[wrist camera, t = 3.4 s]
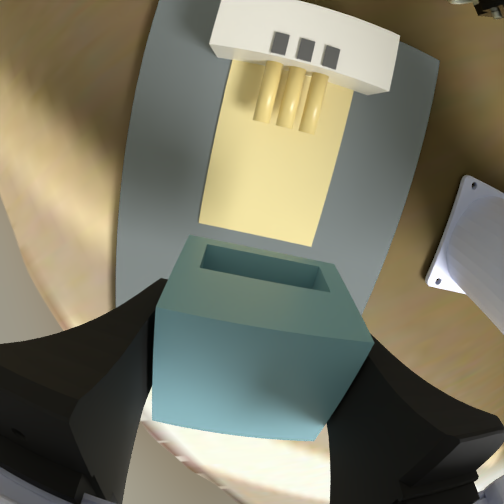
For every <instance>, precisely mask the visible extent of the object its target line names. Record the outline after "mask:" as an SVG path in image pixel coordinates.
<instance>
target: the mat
mask: <svg viewBox="0 0 504 504" xmlns="http://www.w3.org/2000/svg"><path fill="white" fill-rule="evenodd" d="M220 3H221V0H159V3H158V6H157V9H156V12H155V16H154V19H153V22H152V26H151V29H150V33H149V37H148V40H147V44H146V48H145V52H144V56H143V60H142V64H141V68H140V73H139V77H138V82H137V87H136V91H135V96H134V101H133V107H132V112H131V118H130V124H129V130H128V136H127V143H126V150H125V157H124V165H123V173H122V182H121V192H120V203H119V215H118V230H117V251H116V308H117V307H118V306H120V305H122V304H123V303H125V302H126V301H128V300H129V299H131V298H132V297H134V296H135V295H137V294H138V293H140V292H141V291H143V290H144V289H146V288H147V287H148V286H150V285H151V284H153V283H154V282H155V281H157V280H159V279H160V278H164V279H169V277H170V275H171V272H172V270H173V268H174V266H175V264H176V262H177V260H178V257H179V255H180V253H181V251H182V249H183V247H184V245H185V243H186V241H187V239H188V237H189V235H194V236H199V237H204V238H209V239H214V240H218V241H223V242H228V243H233V244H238V245H243V246H248V247H253V248H258V249H263V250H268V251H273V252H278V253H283V254H287V255H292V256H297V257H302V258H307V259H312V260H317V261H322V262H326V263H331V264H334V265H335V267H336V268H337V270H338V272H339V274H340V276H341V278H342V280H343V282H344V283H345V285H346V287H347V289H348V291H349V293H350V295H351V297H352V299H353V301H354V303H355V305H356V307H357V309H358V311H359V312H360V314H361V315H362V313H363V311H364V308H365V306H366V304H367V302H368V299H369V297H370V295H371V292H372V290H373V288H374V285H375V283H376V280H377V278H378V276H379V273H380V271H381V268H382V266H383V263H384V261H385V258H386V255H387V253H388V250H389V248H390V245H391V242H392V239H393V237H394V234H395V231H396V228H397V226H398V223H399V220H400V217H401V214H402V211H403V208H404V205H405V202H406V199H407V196H408V193H409V189H410V186H411V183H412V180H413V176H414V173H415V169H416V166H417V162H418V159H419V155H420V151H421V148H422V144H423V140H424V136H425V132H426V128H427V124H428V119H429V115H430V110H431V106H432V101H433V96H434V91H435V86H436V81H437V75H438V69H439V63H440V61H439V60H437V59H435V58H433V57H432V56H430V55H428V54H426V53H424V52H422V51H420V50H418V49H416V48H414V47H412V46H409V45H407V44H405V43H403V42H401V41H399V45H398V51H397V56H396V61H395V66H394V71H393V76H392V81H391V86H390V90H389V91H388V92H383V93H377V94H372V95H365V94H362V93H359V92H356V91H354V90H351V89H348V88H345V87H342V86H339V85H336V84H333V83H329V82H328V83H327V87H326V92H325V96H324V100H323V104H322V108H321V112H320V116H319V120H318V124H317V128H316V132H315V135H312V134H308V133H304V132H301V131H298V130H299V126H300V122H301V118H302V114H303V110H304V106H305V101H306V97H307V93H308V89H309V85H310V81H311V77H309V76H305V79H304V83H303V87H302V91H301V95H300V100H299V104H298V108H297V112H296V116H295V120H294V124H293V128H292V129H289V128H285V127H281V126H277V125H276V121H277V117H278V113H279V109H280V105H281V101H282V96H283V92H284V88H285V84H286V80H287V76H288V71H286V70H282V73H281V77H280V81H279V85H278V89H277V94H276V98H275V102H274V106H273V110H272V114H271V119H270V123H269V124H268V123H263V122H259V121H254V120H253V115H254V111H255V107H256V103H257V98H258V94H259V90H260V86H261V82H262V78H263V73H264V69H265V66H264V65H259V64H254V63H249V62H244V61H238V60H230V59H224V58H217V56H216V54H215V53H214V51H213V50H212V48H211V46H210V45H209V42H210V39H211V35H212V31H213V28H214V24H215V20H216V17H217V13H218V10H219V7H220Z"/></svg>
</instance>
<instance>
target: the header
mask: <svg viewBox="0 0 504 504" xmlns="http://www.w3.org/2000/svg"><path fill="white" fill-rule="evenodd" d="M399 40H400V35H398V34H396V33H393V32H391V31H389V30H386V29H384V28H381V27H379V26H376V25H374V24H371V23H369V22H366V21H364V20H361V19H358V18H355V17H352V16H350V15H347V14H344V13H341V12H338V11H334V10H331V9H328V8H325V7H321V6H318V5H314V4H310V3H307V2H303V1H299V0H221V3H220V7H219V10H218V13H217V17H216V20H215V24H214V28H213V31H212V35H211V39H210V42H209V45H210V46H211V48H212V50H213V51H214V53H215V54H216V56H217V58H224V59H230V60H238V61H244V62H249V63H254V64H259V65H264V66H265V69H264V73H263V78H262V82H261V86H260V90H259V94H258V98H257V103H256V107H255V111H254V115H253V120H254V121H259V122H263V123H268V124H269V123H270V119H271V114H272V110H273V106H274V102H275V98H276V94H277V89H278V85H279V81H280V77H281V73H282V70H286V71H288V76H287V80H286V84H285V88H284V92H283V96H282V101H281V105H280V109H279V113H278V117H277V121H276V125H277V126H281V127H285V128H289V129H292V128H293V124H294V120H295V116H296V112H297V108H298V104H299V100H300V95H301V91H302V87H303V83H304V79H305V76H309V77H311V81H310V85H309V89H308V93H307V97H306V101H305V106H304V110H303V114H302V118H301V122H300V126H299V130H298V131H301V132H304V133H308V134H312V135H315V132H316V128H317V124H318V120H319V116H320V112H321V108H322V104H323V100H324V96H325V92H326V87H327V83H328V82H329V83H333V84H336V85H339V86H342V87H345V88H348V89H351V90H354V91H356V92H359V93H362V94H365V95H372V94H377V93H383V92H388V91H389V90H390V86H391V81H392V76H393V71H394V66H395V61H396V56H397V51H398V45H399Z"/></svg>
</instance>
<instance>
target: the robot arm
mask: <svg viewBox="0 0 504 504" xmlns="http://www.w3.org/2000/svg"><path fill="white" fill-rule="evenodd" d="M473 182H474V186H473V188H472V183H473ZM438 278H439V280H438V281H437V282H436V280H437V279H438ZM167 281H168V279H164V278H160V279H159V280H157V281H155V282H154V283H153V284H151V285H150V286H148V287H147V288H146V289H144V290H143V291H141V292H140V293H138V294H137V295H135V296H134V297H132V298H131V299H129V300H128V301H126V302H125V303H123V304H122V305H120V306H118V307H117V308H115V309H113V310H111V311H110V312H108V313H106V314H104V315H102V316H100V317H98V318H96V319H94V320H92V321H89V322H87V323H85V324H82V325H80V326H77V327H74V328H71V329H68V330H65V331H62V332H60V333H57V334H53V335H49V336H45V337H41V338H37V339H32V340H27V341H21V342H14V343H5V344H0V504H122V500H123V494H124V489H125V483H126V477H127V473H128V468H129V463H130V459H131V454H132V450H133V445H134V441H135V437H136V433H137V429H138V425H139V422H140V418H141V414H142V411H143V407H144V405H145V402H146V399H147V397H148V394H149V392H150V389H151V387H152V379H153V348H154V328H155V312H156V305H157V303H158V301H159V299H160V296H161V294H162V292H163V290H164V288H165V285H166V283H167ZM425 282H426V283H427V285H428V286H431V287H435V288H440V289H445V290H449V291H454V292H459V293H463V294H466V295H467V296H468V297H469V298H470V299H471V300H472V301H473V302H474V303H475V304H476V305H477V306H478V307H479V308H480V309H481V310H482V311H483V312H484V313H485V314H486V316H487V317H488V318H489V319H490V320H491V321H492V322H493V323H494V324H495V325H496V327H497V328H498V329H499V330H500V331H501V332H502V333H503V335H504V193H502V192H500V191H499V190H497V189H495V188H493V187H491V186H489V185H487V184H486V183H484V182H482V181H480V180H478V179H476V178H474V177H472V176H469V175H465V176H463V178H462V180H461V183H460V186H459V190H458V193H457V196H456V199H455V202H454V205H453V208H452V211H451V214H450V217H449V220H448V223H447V225H446V228H445V231H444V233H443V236H442V239H441V241H440V244H439V246H438V249H437V251H436V254H435V256H434V259H433V261H432V264H431V266H430V268H429V271H428V273H427V275H426V278H425ZM370 335H371V334H370ZM371 337H372V339H373V341H374V345H373V346H372V348H371V350H370V352H369V354H368V356H367V357H366V359H365V361H364V363H363V365H362V366H361V368H360V370H359V372H358V373H357V375H356V377H355V378H354V380H353V382H352V383H351V385H350V387H349V388H348V390H347V392H346V393H345V395H344V396H343V398H342V400H341V401H340V403H339V404H338V406H337V408H336V409H335V411H334V412H333V414H332V415H331V417H330V418H329V420H328V421H327V428H328V435H329V448H330V472H331V485H330V504H504V475H503V476H501V477H499V478H498V479H496V480H495V481H493V482H492V483H491V484H489V485H488V486H487V487H486V488H485V489H484V490H483V491H480V492H477V489H476V487H475V484H474V481H476V480H477V479H478V477H479V476H478V474H477V471H476V470H477V469H478V468H479V467H480V466H481V465H482V464H483V463H484V462H486V461H487V460H488V459H489V458H490V457H491V456H492V455H493V454H494V453H495V452H496V451H497V450H498V449H499V448H500V446H501V445H502V444H503V442H504V426H503V424H502V423H501V421H500V419H499V418H498V417H497V416H496V415H493V414H490V413H487V412H485V411H482V410H479V409H476V408H474V407H471V406H469V405H467V404H465V403H463V402H461V401H459V400H457V399H455V398H453V397H451V396H449V395H447V394H446V393H444V392H442V391H441V390H439V389H437V388H436V387H434V386H432V385H431V384H429V383H428V382H426V381H425V380H423V379H422V378H421V377H419V376H418V375H417V374H415V373H414V372H413V371H411V370H410V369H409V368H408V367H406V366H405V365H404V364H403V363H402V362H400V361H399V360H398V359H397V358H396V357H395V356H393V355H392V354H391V353H390V352H389V351H388V350H387V349H386V348H385V347H384V346H383V345H382V344H381V343H380V342H379V341H378V340H376V339H375V338H374V337H373V336H372V335H371Z"/></svg>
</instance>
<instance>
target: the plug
mask: <svg viewBox="0 0 504 504" xmlns="http://www.w3.org/2000/svg"><path fill="white" fill-rule="evenodd" d="M373 345H374V341H373V339H372V337H371V335H370V333H369V330H368V328H367V326H366V324H365V322H364V320H363V318H362V316H361V314H360V312H359V311H358V309H357V307H356V305H355V303H354V301H353V299H352V297H351V295H350V293H349V291H348V289H347V287H346V285H345V283H344V282H343V280H342V278H341V276H340V274H339V272H338V270H337V268H336V267H335V265H334V264H331V263H326V262H322V261H317V260H312V259H307V258H302V257H297V256H292V255H287V254H283V253H278V252H273V251H268V250H263V249H258V248H253V247H248V246H243V245H238V244H233V243H228V242H223V241H218V240H214V239H209V238H204V237H199V236H194V235H189V237H188V239H187V241H186V243H185V245H184V247H183V249H182V251H181V253H180V255H179V257H178V260H177V262H176V264H175V266H174V268H173V270H172V272H171V275H170V277H169V279H168V281H167V283H166V285H165V288H164V290H163V292H162V294H161V296H160V299H159V301H158V303H157V305H156V312H155V328H154V348H153V379H152V420H153V421H158V422H162V423H167V424H171V425H176V426H181V427H186V428H192V429H197V430H203V431H209V432H215V433H222V434H230V435H237V436H246V437H255V438H266V439H279V440H297V441H314V440H315V439H316V437H317V436H318V434H319V433H320V432H321V430H322V429H323V427H324V426H325V424H326V423H327V421H328V420H329V418H330V417H331V415H332V414H333V412H334V411H335V409H336V408H337V406H338V404H339V403H340V401H341V400H342V398H343V396H344V395H345V393H346V392H347V390H348V388H349V387H350V385H351V383H352V382H353V380H354V378H355V377H356V375H357V373H358V372H359V370H360V368H361V366H362V365H363V363H364V361H365V359H366V357H367V356H368V354H369V352H370V350H371V348H372V346H373Z"/></svg>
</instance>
